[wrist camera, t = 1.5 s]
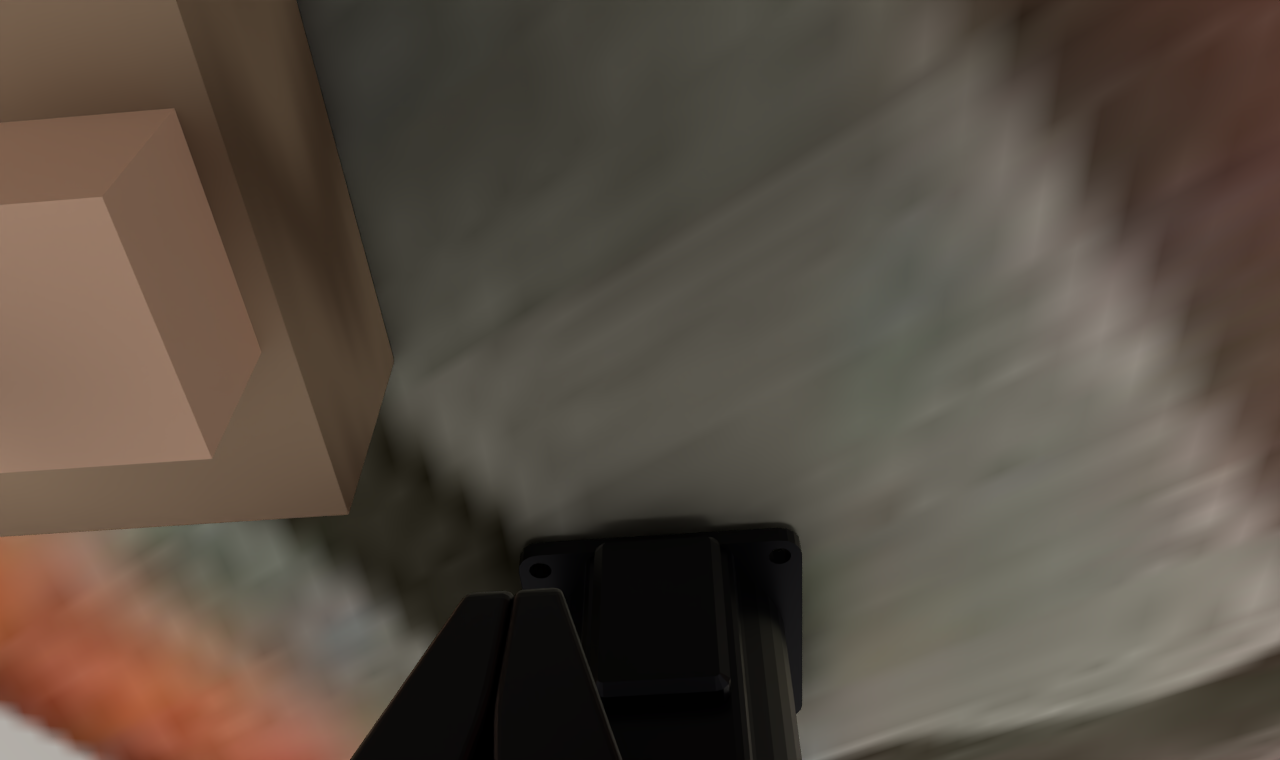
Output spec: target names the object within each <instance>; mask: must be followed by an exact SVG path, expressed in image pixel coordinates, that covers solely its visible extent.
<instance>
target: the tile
mask: <svg viewBox="0 0 1280 760" xmlns="http://www.w3.org/2000/svg"><path fill="white" fill-rule="evenodd" d="M260 354H261V349H260V347H259V344H258V341H257V338H256V335H255V333H254V330H253V327H252V324H251V321H250V319H249V316H248V313H247V310H246V307H245V305H244V302H243V299H242V296H241V293H240V291H239V288H238V285H237V282H236V279H235V277H234V274H233V271H232V268H231V265H230V263H229V260H228V257H227V254H226V251H225V249H224V246H223V243H222V240H221V237H220V235H219V232H218V229H217V226H216V223H215V221H214V218H213V215H212V212H211V209H210V207H209V204H208V201H207V198H206V195H205V193H204V190H203V187H202V184H201V181H200V179H199V176H198V173H197V170H196V167H195V165H194V162H193V159H192V156H191V153H190V151H189V148H188V145H187V142H186V139H185V137H184V134H183V131H182V128H181V125H180V123H179V120H178V117H177V114H176V111H175V109H174V108H170V109H158V110H146V111H134V112H122V113H110V114H99V115H87V116H75V117H63V118H51V119H39V120H27V121H16V122H4V123H0V473H10V472H25V471H40V470H55V469H70V468H84V467H99V466H114V465H129V464H144V463H159V462H173V461H188V460H203V459H212V458H213V456H214V454H215V451H216V449H217V447H218V445H219V443H220V441H221V439H222V436H223V434H224V432H225V430H226V428H227V426H228V423H229V421H230V419H231V417H232V415H233V413H234V411H235V408H236V406H237V404H238V402H239V400H240V398H241V395H242V393H243V391H244V389H245V387H246V385H247V382H248V380H249V378H250V376H251V374H252V372H253V370H254V367H255V365H256V363H257V361H258V359H259V357H260Z"/></svg>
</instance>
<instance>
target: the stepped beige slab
mask: <svg viewBox="0 0 1280 760" xmlns="http://www.w3.org/2000/svg"><path fill="white" fill-rule="evenodd" d="M170 108H174V109H175V111H176V114H177V117H178V120H179V123H180V125H181V128H182V131H183V134H184V137H185V139H186V142H187V145H188V148H189V151H190V153H191V156H192V159H193V162H194V165H195V167H196V170H197V173H198V176H199V179H200V181H201V184H202V187H203V190H204V193H205V195H206V198H207V201H208V204H209V207H210V209H211V212H212V215H213V218H214V221H215V223H216V226H217V229H218V232H219V235H220V237H221V240H222V243H223V246H224V249H225V251H226V254H227V257H228V260H229V263H230V265H231V268H232V271H233V274H234V277H235V279H236V282H237V285H238V288H239V291H240V293H241V296H242V299H243V302H244V305H245V307H246V310H247V313H248V316H249V319H250V321H251V324H252V327H253V330H254V333H255V335H256V338H257V341H258V344H259V347H260V349H261V354H260V357H259V359H258V361H257V363H256V365H255V367H254V370H253V372H252V374H251V376H250V378H249V380H248V382H247V385H246V387H245V389H244V391H243V393H242V395H241V398H240V400H239V402H238V404H237V406H236V408H235V411H234V413H233V415H232V417H231V419H230V421H229V423H228V426H227V428H226V430H225V432H224V434H223V436H222V439H221V441H220V443H219V445H218V447H217V449H216V451H215V454H214V456H213V458H212V459H203V460H188V461H173V462H159V463H144V464H129V465H114V466H99V467H84V468H70V469H55V470H40V471H25V472H10V473H0V537H5V536H21V535H37V534H52V533H68V532H83V531H99V530H114V529H130V528H145V527H161V526H176V525H192V524H208V523H223V522H239V521H254V520H270V519H285V518H301V517H316V516H332V515H347V514H349V511H350V508H351V505H352V501H353V498H354V494H355V491H356V488H357V484H358V481H359V478H360V474H361V471H362V468H363V464H364V461H365V458H366V454H367V451H368V447H369V444H370V441H371V437H372V434H373V431H374V427H375V424H376V421H377V417H378V414H379V411H380V407H381V404H382V401H383V397H384V394H385V390H386V387H387V384H388V380H389V377H390V374H391V370H392V367H393V364H394V358H393V355H392V351H391V347H390V344H389V340H388V336H387V333H386V329H385V325H384V322H383V318H382V314H381V311H380V307H379V303H378V300H377V296H376V292H375V288H374V285H373V281H372V277H371V274H370V270H369V266H368V263H367V259H366V255H365V252H364V248H363V244H362V241H361V237H360V233H359V229H358V226H357V222H356V218H355V215H354V211H353V207H352V204H351V200H350V196H349V193H348V189H347V185H346V182H345V178H344V174H343V171H342V167H341V163H340V159H339V156H338V152H337V148H336V145H335V141H334V137H333V134H332V130H331V126H330V123H329V119H328V115H327V112H326V108H325V104H324V100H323V97H322V93H321V89H320V86H319V82H318V78H317V75H316V71H315V67H314V64H313V60H312V56H311V53H310V49H309V45H308V41H307V38H306V34H305V30H304V27H303V23H302V19H301V16H300V12H299V8H298V5H297V1H296V0H0V123H4V122H16V121H27V120H39V119H51V118H63V117H75V116H87V115H99V114H110V113H122V112H134V111H146V110H158V109H170Z"/></svg>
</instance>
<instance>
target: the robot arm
mask: <svg viewBox="0 0 1280 760" xmlns="http://www.w3.org/2000/svg"><path fill="white" fill-rule="evenodd" d="M778 548H783V549H785V550H782V551H773V550H774V549H778ZM537 563H544V564H546V565H545V566H540V565H536V564H537ZM519 575H520V579H521V584H522V588H523V590H520V591H519V592H517V593H516V595H515V597H514V596H513V594H512V593H510V592H508V591H493V592H477V593H470V594H468V595H467V596H465V597H464V598H463V599H462V600H461V602H460V603H459V604H458V606H457V607H456V609H455V610H454V612H453V613H452V614H451V616H450V617H449V619H448V620H447V622H446V623H445V624H444V626H443V627H442V629H441V630H440V632H439V633H438V634H437V636H436V637H435V639H434V640H433V642H432V643H431V645H430V646H429V647H428V649H427V650H426V652H425V653H424V655H423V656H422V657H421V659H420V660H419V662H418V663H417V665H416V666H415V667H414V669H413V670H412V672H411V673H410V675H409V676H408V677H407V679H406V680H405V682H404V683H403V685H402V686H401V688H400V689H399V690H398V692H397V693H396V695H395V696H394V698H393V699H392V700H391V702H390V703H389V705H388V706H387V708H386V709H385V710H384V712H383V713H382V715H381V716H380V718H379V719H378V720H377V722H376V723H375V725H374V726H373V728H372V729H371V731H370V732H369V733H368V735H367V736H366V738H365V739H364V741H363V742H362V743H361V745H360V746H359V748H358V749H357V751H356V752H355V753H354V755H353V756H352V758H351V759H350V760H802V757H801V749H800V742H799V734H798V727H797V719H796V714H797V713H798V712H799V711H800V710H801V707H802V552H801V546H800V541H799V537H798V536H797V535H796V534H795V533H794V532H793V531H791V530H788V529H784V528H770V529H754V530H738V531H722V532H706V533H690V534H674V535H658V536H642V537H626V538H610V539H594V540H578V541H562V542H546V543H536V544H531V545H529V546H528V547H526V548H524V550H523V551H522V553H521V556H520V565H519Z"/></svg>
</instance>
